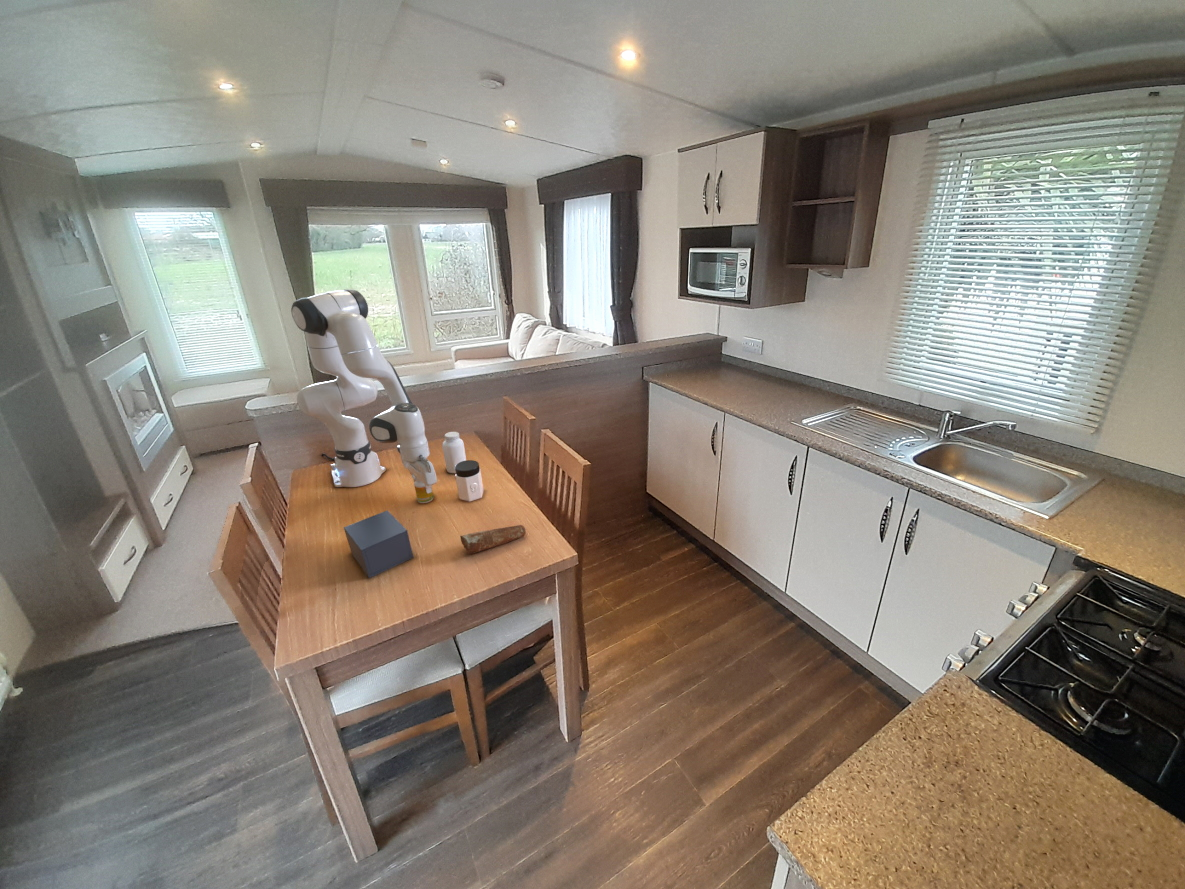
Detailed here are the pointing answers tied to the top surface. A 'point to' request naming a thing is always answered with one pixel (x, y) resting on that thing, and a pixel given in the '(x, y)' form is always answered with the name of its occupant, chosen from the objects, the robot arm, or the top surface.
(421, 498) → the supplement bottle
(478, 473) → the jar
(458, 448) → the pill bottle
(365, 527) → the dark grey box
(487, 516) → the top surface
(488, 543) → the rusty brown tapered cylinder
